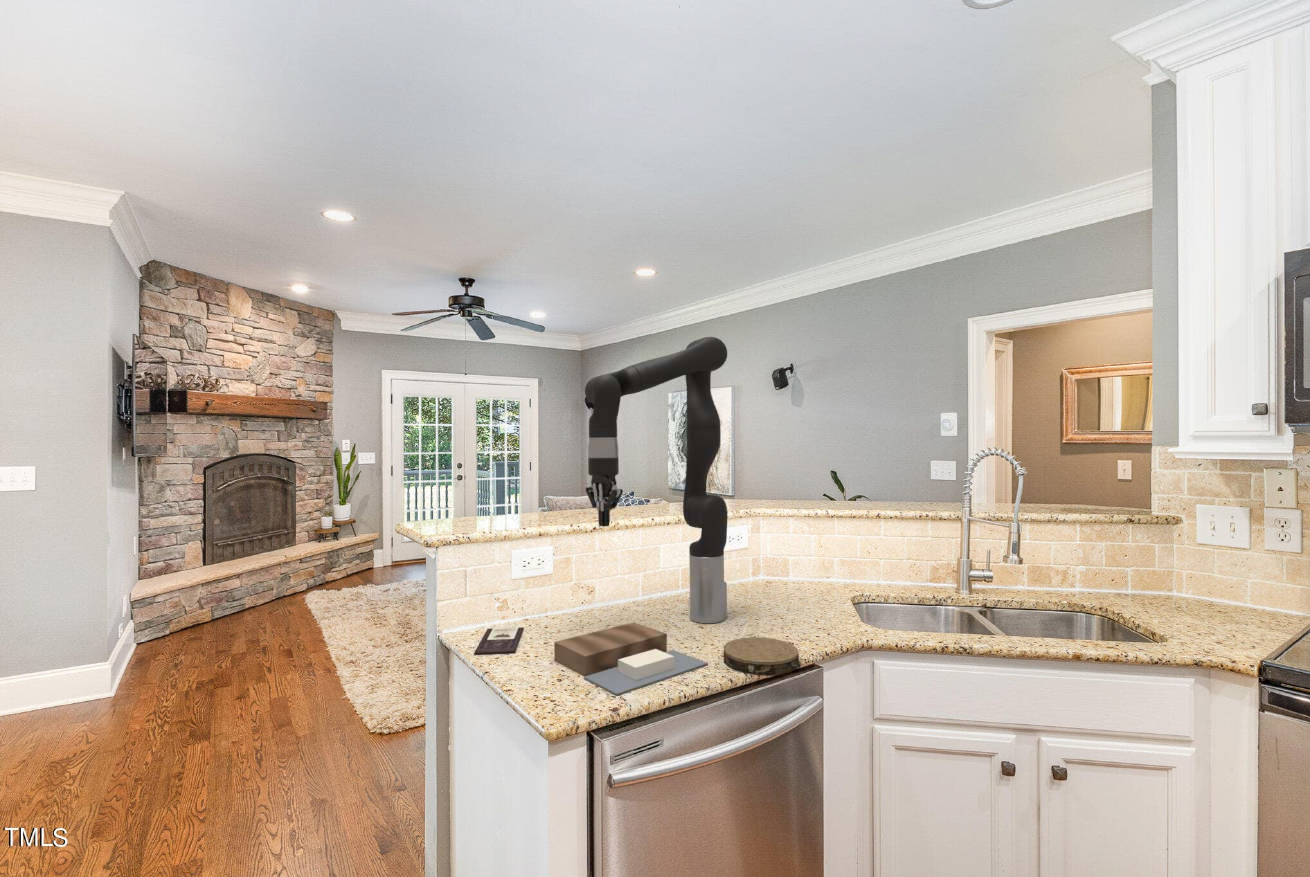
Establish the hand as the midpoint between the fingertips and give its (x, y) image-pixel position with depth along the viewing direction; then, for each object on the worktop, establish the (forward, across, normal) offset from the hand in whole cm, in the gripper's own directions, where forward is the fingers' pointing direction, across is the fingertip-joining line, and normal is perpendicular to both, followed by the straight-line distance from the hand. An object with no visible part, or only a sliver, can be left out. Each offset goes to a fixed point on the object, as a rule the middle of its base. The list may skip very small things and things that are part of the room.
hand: (604, 526), depth 150 cm
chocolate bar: (+27, +12, +22) cm, 37 cm away
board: (+27, -14, +8) cm, 31 cm away
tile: (+25, -26, +9) cm, 37 cm away
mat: (+27, -26, +8) cm, 38 cm away
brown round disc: (+27, -38, -14) cm, 48 cm away
